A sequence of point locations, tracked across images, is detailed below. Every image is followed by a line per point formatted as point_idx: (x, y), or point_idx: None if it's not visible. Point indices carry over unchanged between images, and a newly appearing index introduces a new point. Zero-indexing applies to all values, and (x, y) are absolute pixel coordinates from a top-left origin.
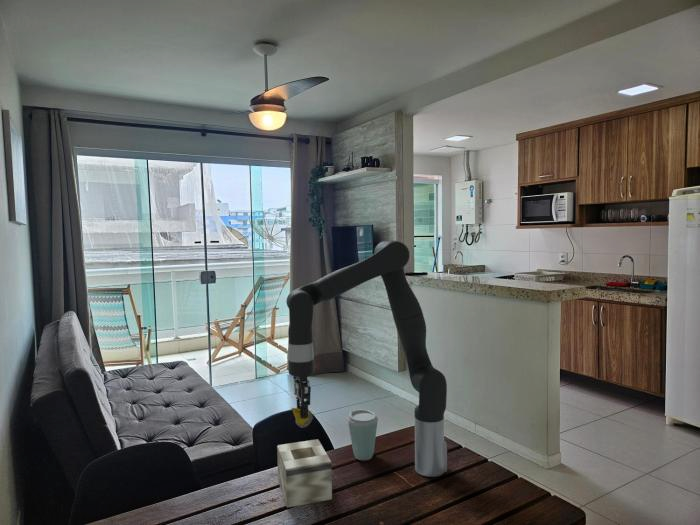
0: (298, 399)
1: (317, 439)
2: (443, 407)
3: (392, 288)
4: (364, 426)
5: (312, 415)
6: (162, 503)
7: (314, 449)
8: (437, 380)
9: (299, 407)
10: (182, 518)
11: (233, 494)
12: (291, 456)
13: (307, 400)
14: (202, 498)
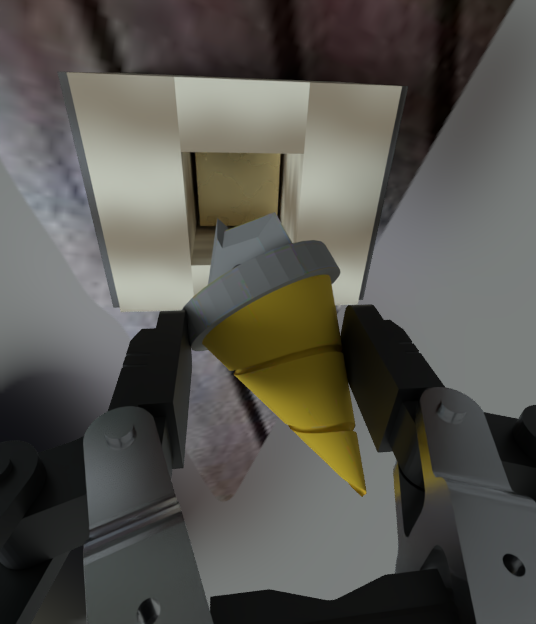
0: (172, 461)
1: (70, 78)
2: None
3: None
4: None
5: (300, 241)
6: (197, 464)
7: (219, 142)
8: None
9: (187, 378)
10: (266, 433)
11: (201, 358)
12: None
13: (486, 456)
14: (200, 411)
